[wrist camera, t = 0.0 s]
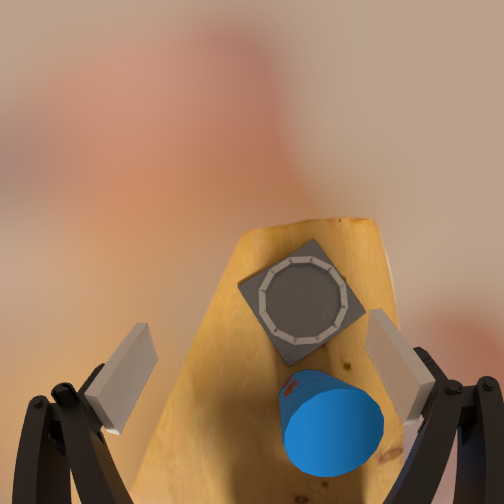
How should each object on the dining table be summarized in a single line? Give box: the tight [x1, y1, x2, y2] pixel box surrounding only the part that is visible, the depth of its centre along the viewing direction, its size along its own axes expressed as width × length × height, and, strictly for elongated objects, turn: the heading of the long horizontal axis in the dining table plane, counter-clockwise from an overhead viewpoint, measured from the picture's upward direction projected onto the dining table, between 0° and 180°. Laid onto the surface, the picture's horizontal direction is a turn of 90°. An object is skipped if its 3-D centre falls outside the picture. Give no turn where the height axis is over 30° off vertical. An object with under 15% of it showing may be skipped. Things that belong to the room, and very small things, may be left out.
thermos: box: [279, 370, 384, 477], centre depth 33 cm, size 11×11×25 cm
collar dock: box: [238, 239, 366, 367], centre depth 50 cm, size 18×18×2 cm
